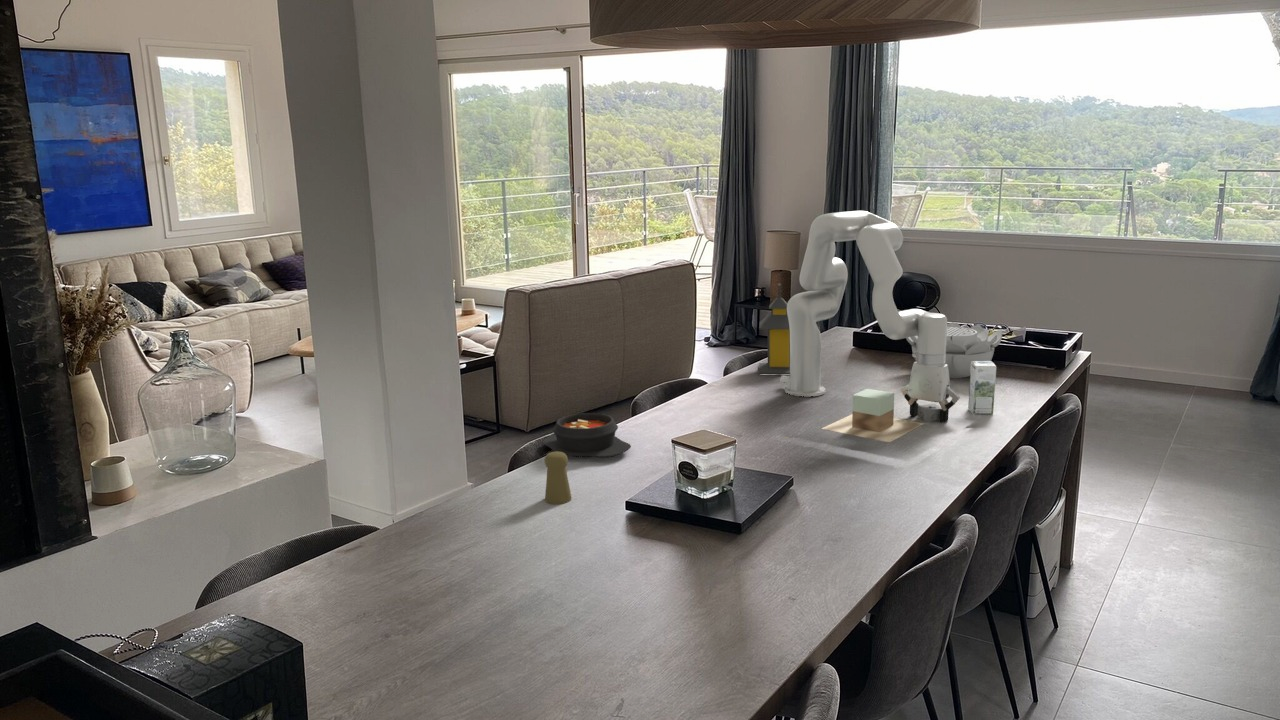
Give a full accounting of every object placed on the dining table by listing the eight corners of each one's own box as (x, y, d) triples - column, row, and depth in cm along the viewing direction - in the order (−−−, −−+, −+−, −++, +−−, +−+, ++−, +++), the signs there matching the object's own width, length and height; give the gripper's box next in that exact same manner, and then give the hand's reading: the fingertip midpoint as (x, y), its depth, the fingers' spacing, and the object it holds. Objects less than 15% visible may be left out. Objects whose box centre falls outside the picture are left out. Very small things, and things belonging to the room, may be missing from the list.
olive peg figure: (545, 495, 216) (542, 449, 214) (571, 493, 217) (569, 448, 214) (544, 504, 210) (542, 458, 208) (571, 503, 211) (569, 456, 208)
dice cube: (926, 427, 257) (926, 410, 255) (917, 422, 261) (917, 405, 260) (942, 426, 258) (943, 408, 256) (933, 421, 262) (934, 403, 261)
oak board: (821, 433, 254) (821, 428, 254) (857, 416, 268) (857, 411, 268) (889, 447, 241) (889, 442, 241) (923, 428, 255) (924, 423, 255)
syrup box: (988, 409, 272) (991, 360, 268) (993, 414, 266) (996, 365, 262) (967, 409, 272) (970, 360, 269) (972, 415, 266) (975, 365, 263)
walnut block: (852, 427, 254) (852, 411, 253) (866, 420, 260) (866, 404, 259) (879, 432, 249) (879, 416, 248) (893, 425, 255) (893, 409, 254)
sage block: (852, 411, 253) (852, 394, 252) (866, 404, 259) (867, 388, 258) (879, 416, 248) (880, 399, 247) (893, 409, 254) (894, 392, 253)
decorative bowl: (920, 360, 331) (921, 318, 328) (1007, 370, 314) (1010, 326, 310) (887, 379, 307) (888, 334, 304) (980, 391, 290) (983, 343, 287)
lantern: (758, 375, 318) (758, 287, 311) (759, 365, 332) (758, 281, 325) (800, 375, 316) (801, 287, 309) (799, 365, 330) (800, 280, 323)
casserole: (645, 449, 246) (644, 418, 244) (601, 470, 232) (599, 437, 230) (573, 434, 261) (571, 405, 259) (526, 453, 246) (525, 422, 244)
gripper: (895, 357, 258) (893, 418, 262) (956, 365, 247) (953, 429, 251) (907, 352, 264) (905, 412, 268) (967, 360, 253) (964, 422, 257)
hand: (928, 420), depth 259 cm, fingers open, 7 cm apart
